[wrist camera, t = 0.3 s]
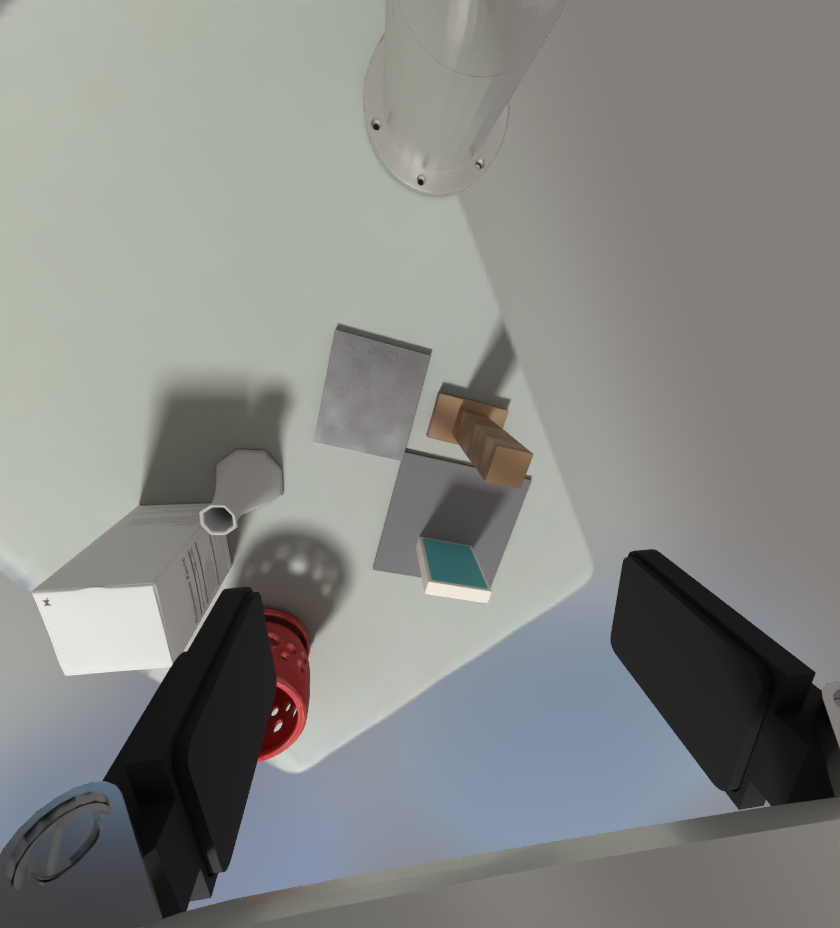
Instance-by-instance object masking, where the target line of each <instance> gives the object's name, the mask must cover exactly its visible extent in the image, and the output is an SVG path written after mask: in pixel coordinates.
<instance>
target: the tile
mask: <svg viewBox="0 0 840 928" xmlns="http://www.w3.org/2000/svg"><path fill="white" fill-rule="evenodd" d="M416 550H417V555H418V561H419V566H420V571H421V577H422V582H423V587H424V593H425V594H430V595H437V596H443V597H450V598H456V599H463V600H469V601H476V602H482V603H488V600H489V598H490V595H491V592H492V591H491V589H490V587H489V584H488V582H487V580H486V578H485V575H484V573H483V571H482V568H481V566H480V564H479V562H478V559H477V557H476V555H475V553H474V550H473V548H472V546H468V545H462V544H457V543H451V542H446V541H440V540H435V539H429V538H424V537H419V538H418V542H417V545H416Z"/></svg>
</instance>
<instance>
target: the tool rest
mask: <svg viewBox="0 0 840 928" xmlns="http://www.w3.org/2000/svg"><path fill="white" fill-rule="evenodd" d="M429 359H430V355H427V354H423V353H420V352H416V351H412V350H409V349H405V348H401V347H398V346H394V345H390V344H387V343H383V342H380V341H376V340H372V339H369V338H365V337H361V336H358V335H354V334H350V333H347V332H343V331H339V330H336V329H335V332H334V337H333V343H332V348H331V353H330V359H329V364H328V369H327V374H326V380H325V385H324V390H323V396H322V401H321V406H320V411H319V417H318V422H317V427H316V433H315V438H314V442H318V443H322V444H327V445H331V446H336V447H341V448H345V449H350V450H354V451H359V452H364V453H368V454H373V455H377V456H382V457H387V458H391V459H396V460H400V461H402V460H403V456H404V453H405V449H406V445H407V441H408V438H409V434H410V430H411V427H412V423H413V419H414V415H415V412H416V408H417V404H418V400H419V397H420V393H421V389H422V385H423V382H424V378H425V374H426V370H427V367H428V363H429Z"/></svg>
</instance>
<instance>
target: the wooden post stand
mask: <svg viewBox="0 0 840 928" xmlns="http://www.w3.org/2000/svg"><path fill="white" fill-rule="evenodd" d="M507 414H508V410H506V409H503V408H499V407H496V406H492V405H488V404H484V403H480V402H476V401H472V400H468V399H464V398H461V397H457V396H453V395H449V394H445V393H441V392H438V395H437V399H436V402H435V406H434V409H433V413H432V417H431V420H430V424H429V427H428V431H427V434H426V435H427V437H428V438H433V439H437V440H441V441H445V442H450V443H454V444H458V445H460V447H461V448H462V449H463V451H464V452H465V454H466V455H467V457H468V458H469V459H470V461H471V462H472V464H473V465H474V467H475V468H476V469H477V471H478V472H479V474H480V475H481V476H482V478H483V479H484V481H485V482H489V483H494V484H498V485H503V486H507V487H512V488H517V489H521V486H522V483H523V481H524V478H525V475H526V473H527V470H528V467H529V465H530V462H531V459H532V457H533V454H532V453H531V452H530V451H529V450H528V449H526V448H525V447H524V446H523V445H521V444H520V443H519V442H518V441H517V440H515V439H514V438H513V437H512V436H510V435H509V434H508V433H507V432H506V431H504V430H503V426H504V423H505V420H506V417H507Z"/></svg>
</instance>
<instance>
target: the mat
mask: <svg viewBox="0 0 840 928" xmlns="http://www.w3.org/2000/svg"><path fill="white" fill-rule="evenodd" d="M530 483H531V480H530V479H527V478H524V481H523V483H522V486H521V489H517V488H512V487H507V486H503V485H498V484H494V483H489V482H485V481H484V479H483V478H482V476H481V475H480V474H479V472H478V471H477V469H476V468H475V467H473V466H468V465H464V464H459V463H455V462H450V461H446V460H441V459H437V458H432V457H428V456H423V455H419V454H414V453H410V452H405V453H404V456H403V460H402V461H401V465H400V468H399V472H398V476H397V480H396V483H395V487H394V491H393V495H392V498H391V502H390V506H389V510H388V514H387V517H386V521H385V525H384V529H383V532H382V536H381V540H380V544H379V547H378V551H377V555H376V559H375V562H374V566H373V570H378V571H384V572H391V573H397V574H403V575H409V576H415V577H421V571H420V566H419V561H418V555H417V550H416V545H417V542H418V538H419V537H424V538H429V539H435V540H440V541H446V542H451V543H457V544H462V545H468V546H472V548H473V550H474V553H475V555H476V557H477V559H478V562H479V564H480V566H481V568H482V571H483V573H484V575H485V578H486V580H487V582H488V584H489V587H490V588H491V585H492V583H493V580H494V577H495V575H496V572H497V570H498V567H499V564H500V562H501V559H502V556H503V554H504V551H505V549H506V546H507V543H508V541H509V538H510V535H511V533H512V530H513V528H514V525H515V522H516V520H517V517H518V515H519V512H520V509H521V507H522V504H523V501H524V499H525V496H526V494H527V491H528V488H529V486H530Z"/></svg>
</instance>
